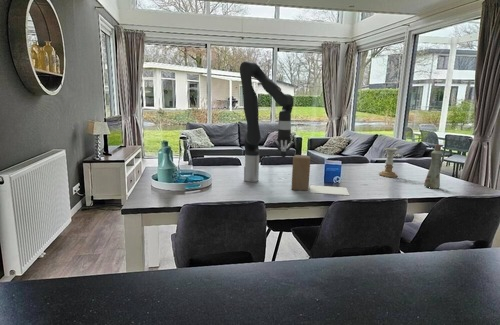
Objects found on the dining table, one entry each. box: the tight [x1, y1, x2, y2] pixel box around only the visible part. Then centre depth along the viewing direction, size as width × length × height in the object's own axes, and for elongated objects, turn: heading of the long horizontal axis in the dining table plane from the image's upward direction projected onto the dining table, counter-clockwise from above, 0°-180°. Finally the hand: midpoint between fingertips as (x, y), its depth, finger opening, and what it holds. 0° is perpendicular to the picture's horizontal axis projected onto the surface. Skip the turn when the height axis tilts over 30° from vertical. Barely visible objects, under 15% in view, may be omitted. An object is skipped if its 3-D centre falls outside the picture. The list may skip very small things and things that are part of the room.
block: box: [291, 154, 311, 192], centre depth 195 cm, size 10×10×20 cm
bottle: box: [423, 143, 443, 189], centre depth 204 cm, size 9×9×28 cm
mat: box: [309, 184, 350, 196], centre depth 194 cm, size 22×16×1 cm
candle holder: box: [378, 147, 400, 178], centre depth 235 cm, size 12×12×20 cm
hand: (283, 157), depth 195 cm, fingers closed
